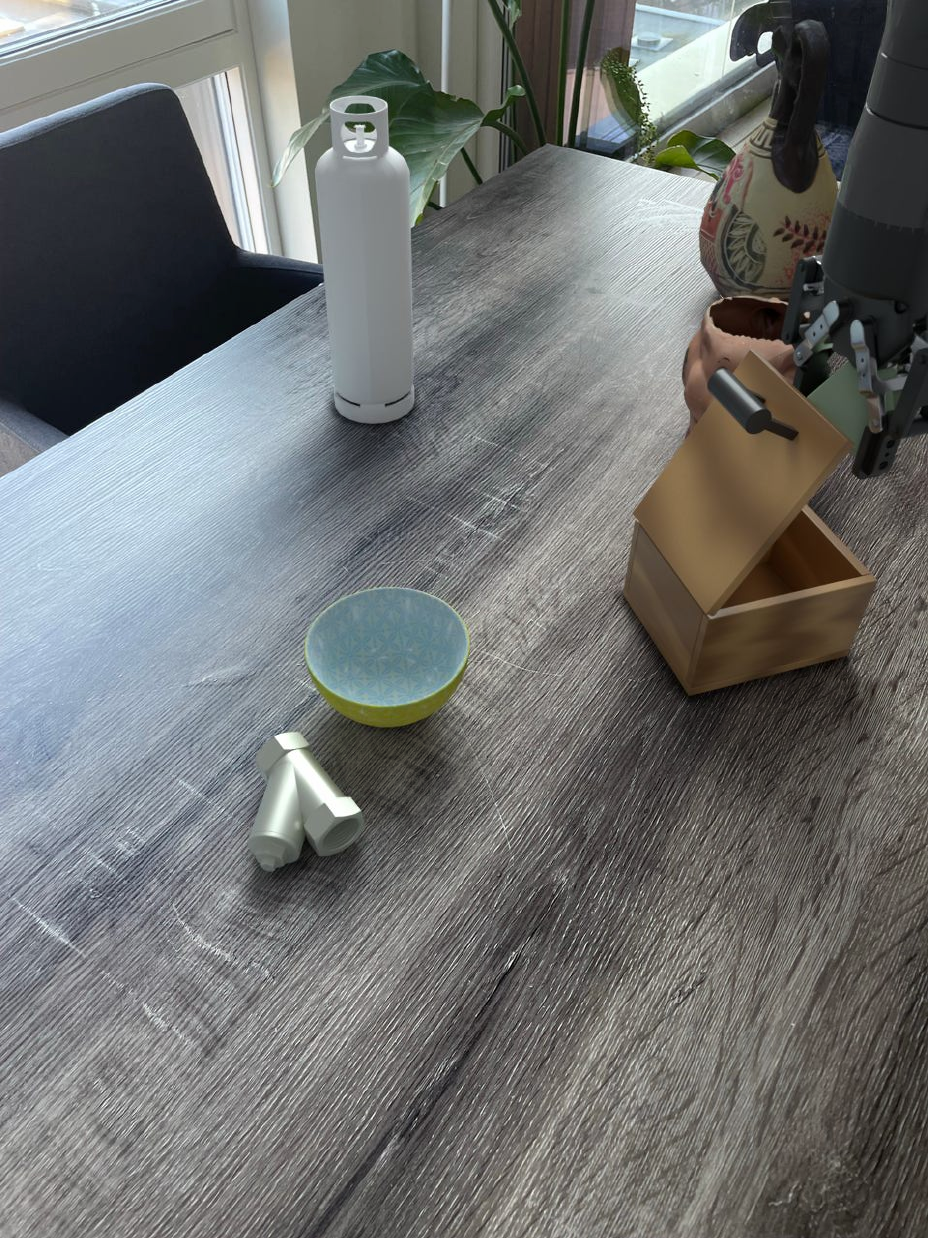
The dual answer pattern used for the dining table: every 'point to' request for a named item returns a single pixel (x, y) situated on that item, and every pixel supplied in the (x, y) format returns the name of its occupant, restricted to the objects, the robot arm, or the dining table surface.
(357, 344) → the bottle
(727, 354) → the decorative planter
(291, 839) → the pipe fitting
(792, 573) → the chest
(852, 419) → the block
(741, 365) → the lid
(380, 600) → the bowl
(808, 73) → the ceramic jug
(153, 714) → the dining table surface
